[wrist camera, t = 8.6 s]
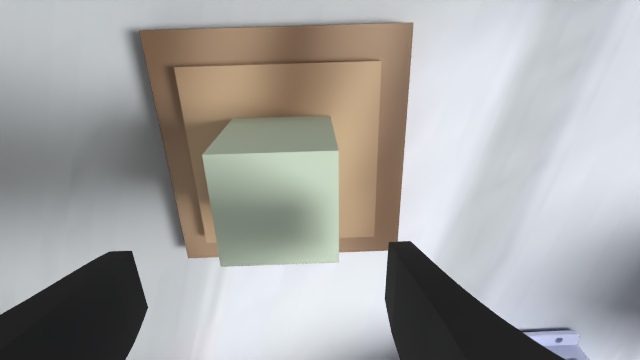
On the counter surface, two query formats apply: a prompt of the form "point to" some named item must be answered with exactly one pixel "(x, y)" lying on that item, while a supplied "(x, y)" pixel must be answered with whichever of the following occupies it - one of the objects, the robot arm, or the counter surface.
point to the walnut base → (287, 111)
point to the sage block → (275, 191)
